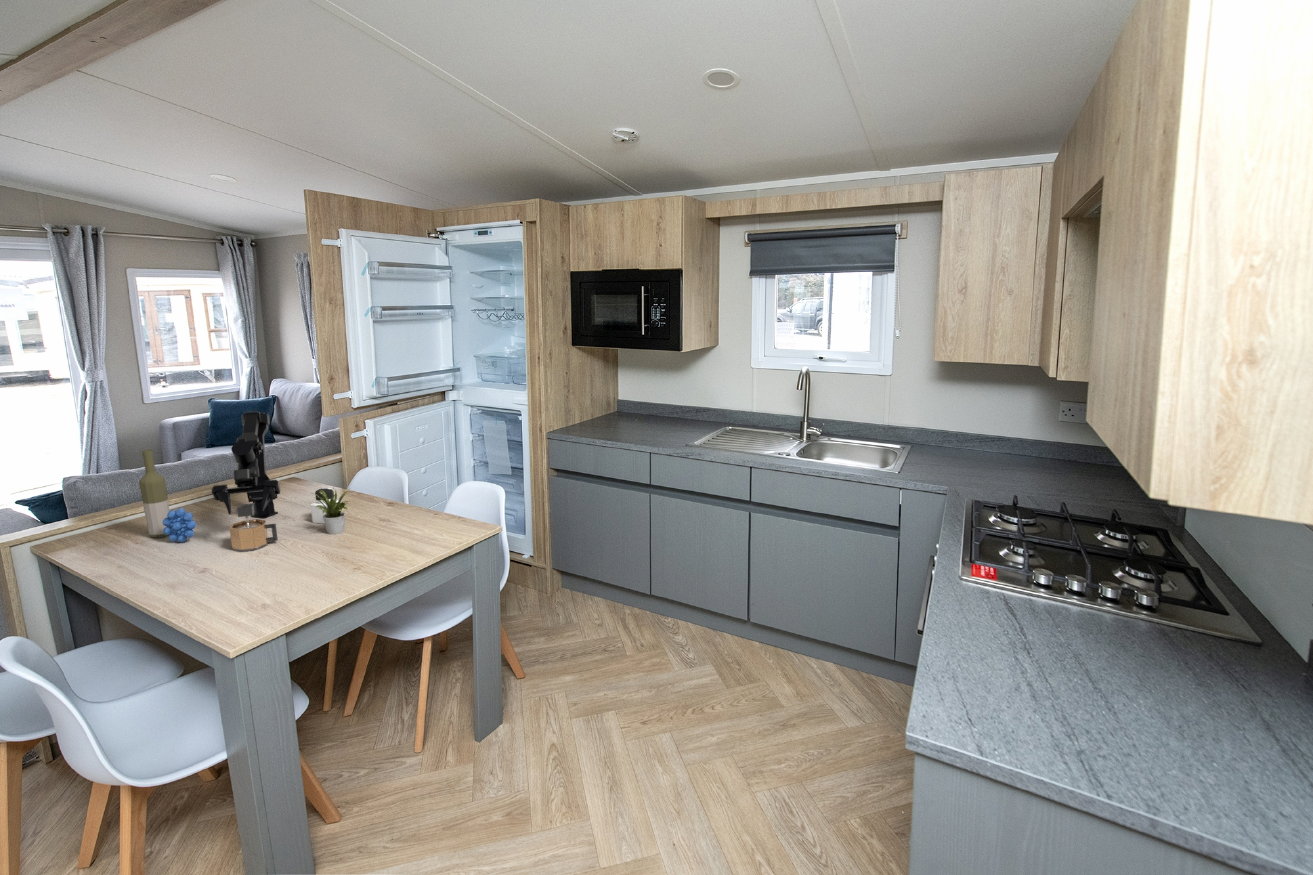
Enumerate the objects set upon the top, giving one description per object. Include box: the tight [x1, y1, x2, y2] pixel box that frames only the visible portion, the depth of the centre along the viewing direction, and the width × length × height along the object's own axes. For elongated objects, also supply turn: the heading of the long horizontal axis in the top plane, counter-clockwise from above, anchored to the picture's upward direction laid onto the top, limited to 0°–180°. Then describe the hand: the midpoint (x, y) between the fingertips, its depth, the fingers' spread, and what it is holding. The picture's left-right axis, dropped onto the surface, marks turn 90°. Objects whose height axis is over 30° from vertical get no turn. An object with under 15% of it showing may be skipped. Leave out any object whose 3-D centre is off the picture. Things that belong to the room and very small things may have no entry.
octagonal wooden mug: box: [229, 518, 279, 553], centre depth 213 cm, size 10×13×8 cm
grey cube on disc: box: [236, 502, 261, 529], centre depth 211 cm, size 7×7×8 cm
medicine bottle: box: [310, 487, 342, 525], centre depth 237 cm, size 7×7×12 cm
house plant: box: [311, 487, 351, 535], centre depth 224 cm, size 14×14×16 cm
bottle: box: [138, 449, 170, 538], centre depth 219 cm, size 7×7×30 cm
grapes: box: [162, 507, 197, 544], centre depth 216 cm, size 12×7×12 cm, turn 85°
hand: (246, 512), depth 211 cm, fingers open, 9 cm apart
